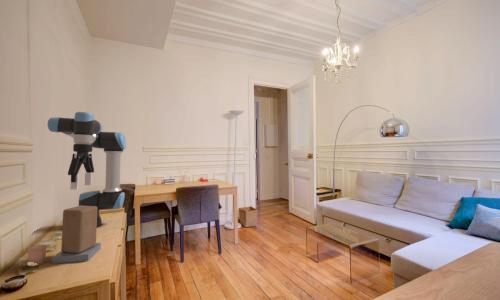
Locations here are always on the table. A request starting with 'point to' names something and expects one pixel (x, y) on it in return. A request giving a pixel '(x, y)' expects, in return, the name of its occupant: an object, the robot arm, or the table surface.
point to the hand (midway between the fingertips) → (81, 187)
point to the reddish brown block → (37, 254)
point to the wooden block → (79, 229)
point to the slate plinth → (76, 255)
